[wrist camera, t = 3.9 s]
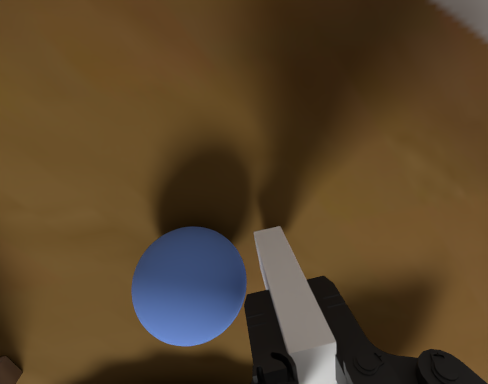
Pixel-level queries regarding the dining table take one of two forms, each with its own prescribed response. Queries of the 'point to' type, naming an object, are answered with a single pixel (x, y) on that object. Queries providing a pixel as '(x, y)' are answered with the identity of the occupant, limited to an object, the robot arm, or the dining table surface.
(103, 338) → the dining table surface
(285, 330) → the robot arm
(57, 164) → the dining table surface
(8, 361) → the bridge
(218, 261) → the ball
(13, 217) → the dining table surface
